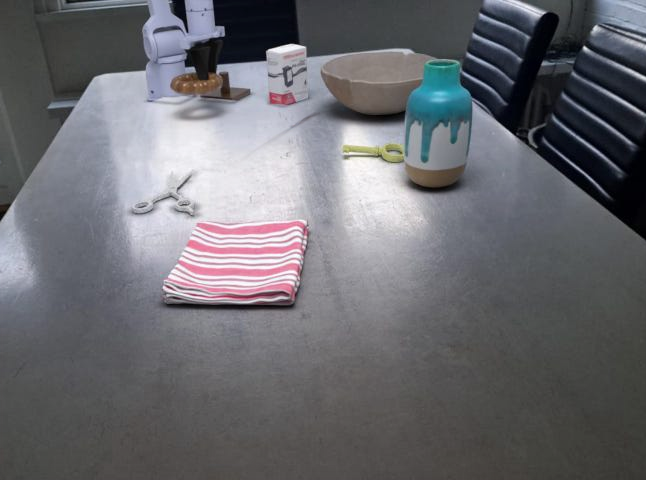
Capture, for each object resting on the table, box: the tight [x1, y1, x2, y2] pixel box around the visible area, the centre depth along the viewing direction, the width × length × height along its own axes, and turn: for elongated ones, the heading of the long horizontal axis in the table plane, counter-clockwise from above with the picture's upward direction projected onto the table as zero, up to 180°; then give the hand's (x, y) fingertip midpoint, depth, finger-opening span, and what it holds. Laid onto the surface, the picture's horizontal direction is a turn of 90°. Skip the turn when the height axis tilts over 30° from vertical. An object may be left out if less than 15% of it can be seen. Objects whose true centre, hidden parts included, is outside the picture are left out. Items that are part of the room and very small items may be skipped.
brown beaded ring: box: [170, 71, 223, 96], centre depth 148 cm, size 11×11×3 cm
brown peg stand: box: [199, 71, 252, 101], centre depth 168 cm, size 9×9×6 cm
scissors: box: [131, 170, 195, 216], centre depth 117 cm, size 11×1×20 cm
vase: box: [403, 58, 473, 188], centre depth 110 cm, size 11×11×19 cm
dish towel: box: [161, 218, 310, 306], centre depth 93 cm, size 17×23×4 cm
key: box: [342, 142, 404, 163], centre depth 127 cm, size 7×12×2 cm, turn 102°
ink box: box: [265, 43, 309, 106], centre depth 160 cm, size 8×5×12 cm, turn 134°
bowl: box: [320, 51, 438, 116], centre depth 149 cm, size 26×26×10 cm
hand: (207, 78), depth 151 cm, fingers closed on brown beaded ring, 3 cm apart
